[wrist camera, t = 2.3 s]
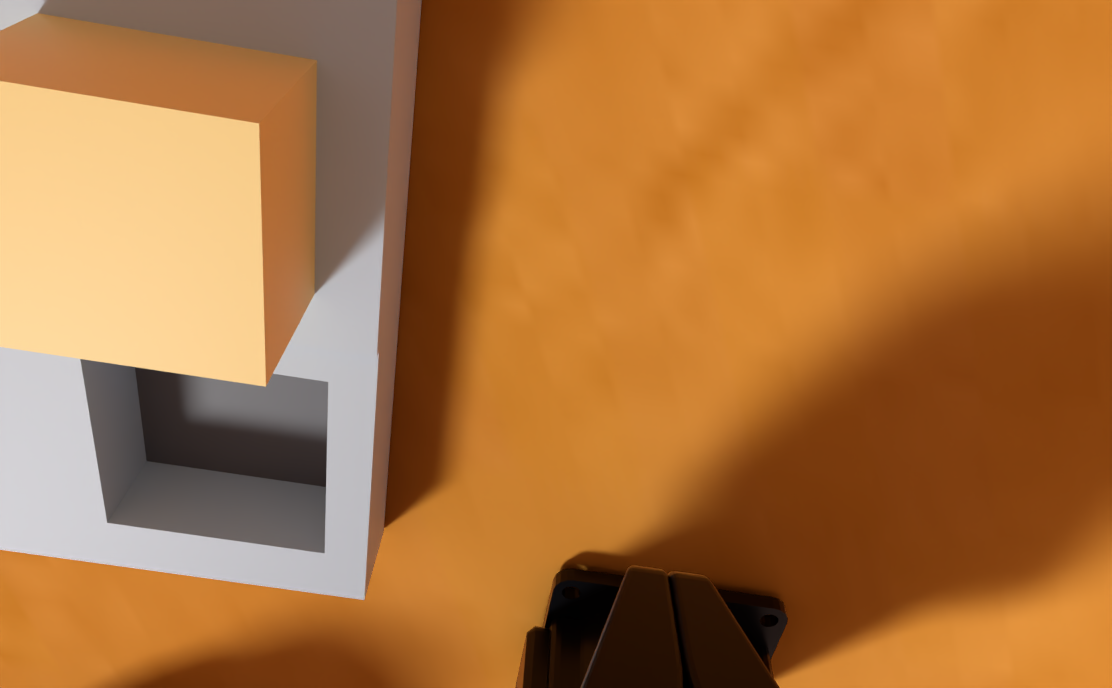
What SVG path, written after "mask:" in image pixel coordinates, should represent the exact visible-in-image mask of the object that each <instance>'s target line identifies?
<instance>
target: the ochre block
mask: <svg viewBox="0 0 1112 688" xmlns="http://www.w3.org/2000/svg"><path fill="white" fill-rule="evenodd" d="M316 105H317V60H313V59H307V58H301V57H295V56H289V55H283V54H277V53H272V52H266V51H260V50H254V49H248V48H242V47H236V46H230V45H224V44H218V43H212V42H206V41H200V40H194V39H188V38H183V37H177V36H171V35H165V34H159V33H153V32H147V31H141V30H135V29H129V28H123V27H117V26H111V25H105V24H99V23H93V22H88V21H82V20H76V19H70V18H64V17H58V16H52V15H46V14H40V13H37V14H35V15H33V16H30V17H28V18H26V19H24V20H22V21H20V22H18V23H16V24H13V25H11V26H9V27H7V28H5V29H3V30H1V31H0V347H4V348H11V349H18V350H24V351H31V352H38V353H44V354H51V355H58V356H64V357H71V358H78V359H85V360H91V361H98V362H105V363H111V364H118V365H125V366H131V367H138V368H145V369H151V370H158V371H165V372H171V373H178V374H185V375H191V376H198V377H205V378H211V379H218V380H225V381H232V382H238V383H245V384H252V385H258V386H265V387H266V386H267V384H268V382H269V380H270V378H271V376H272V374H273V372H274V370H275V369H276V367H277V365H278V363H279V361H280V359H281V357H282V355H283V353H284V351H285V349H286V348H287V346H288V344H289V342H290V340H291V338H292V336H293V334H294V332H295V330H296V329H297V327H298V325H299V323H300V321H301V319H302V317H303V315H304V313H305V311H306V310H307V308H308V306H309V304H310V302H311V300H312V298H313V296H314V294H315V203H316Z"/></svg>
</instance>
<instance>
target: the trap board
mask: <svg viewBox="0 0 1112 688" xmlns="http://www.w3.org/2000/svg"><path fill="white" fill-rule="evenodd" d="M421 4H422V0H0V31H1V30H3V29H5V28H7V27H9V26H11V25H13V24H16V23H18V22H20V21H22V20H24V19H26V18H28V17H30V16H33V15H35V14H37V13H40V14H46V15H52V16H58V17H64V18H70V19H76V20H82V21H88V22H93V23H99V24H105V25H111V26H117V27H123V28H129V29H135V30H141V31H147V32H153V33H159V34H165V35H171V36H177V37H183V38H188V39H194V40H200V41H206V42H212V43H218V44H224V45H230V46H236V47H242V48H248V49H254V50H260V51H266V52H272V53H277V54H283V55H289V56H295V57H301V58H307V59H313V60H317V105H316V203H315V294H314V296H313V298H312V300H311V302H310V304H309V306H308V308H307V310H306V311H305V313H304V315H303V317H302V319H301V321H300V323H299V325H298V327H297V329H296V330H295V332H294V334H293V336H292V338H291V340H290V342H289V344H288V346H287V348H286V349H285V351H284V353H283V355H282V357H281V359H280V361H279V363H278V365H277V367H276V369H275V370H274V372H273V374H272V376H271V378H270V380H269V382H268V384H267V386H266V387H265V386H258V385H252V384H245V383H238V382H232V381H225V380H218V379H211V378H205V377H198V376H191V375H185V374H178V373H171V372H165V371H158V370H151V369H145V368H138V367H131V366H125V365H118V364H111V363H105V362H98V361H91V360H85V359H78V358H71V357H64V356H58V355H51V354H44V353H38V352H31V351H24V350H18V349H11V348H4V347H0V550H7V551H14V552H21V553H29V554H36V555H43V556H50V557H58V558H65V559H72V560H79V561H86V562H94V563H101V564H108V565H115V566H123V567H130V568H137V569H144V570H152V571H159V572H166V573H173V574H180V575H188V576H195V577H202V578H209V579H217V580H224V581H231V582H238V583H245V584H253V585H260V586H267V587H274V588H282V589H289V590H296V591H303V592H310V593H318V594H325V595H332V596H339V597H347V598H354V599H361V600H364V599H365V596H366V592H367V589H368V585H369V581H370V578H371V574H372V571H373V567H374V563H375V560H376V556H377V553H378V549H379V545H380V542H381V538H382V535H383V531H384V521H385V507H386V493H387V479H388V465H389V451H390V437H391V423H392V409H393V395H394V381H395V367H396V353H397V339H398V325H399V311H400V298H401V284H402V270H403V256H404V242H405V228H406V214H407V200H408V186H409V172H410V158H411V144H412V130H413V116H414V102H415V88H416V74H417V60H418V46H419V32H420V18H421Z"/></svg>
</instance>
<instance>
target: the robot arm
mask: <svg viewBox="0 0 1112 688" xmlns="http://www.w3.org/2000/svg"><path fill="white" fill-rule="evenodd" d="M572 586H573V587H575V588H569V587H572ZM787 619H788V618H787V613H786V609H785V606H784V603H783V602H782V601H780V600H779V599H777V598H773V597H768V596H761V595H753V594H746V593H739V592H732V591H725V590H718V589H716V588H715V586H714V585H713V583H712V582H711V580H710V579H709V578H707V577H706V576H704V575H700V574H693V573H686V572H679V571H672V572H670V573H668V575H667V573H666V572H665V571H664V570H663V569H658V568H651V567H644V566H637V565H632V566H630V567H629V568H628V569H627V571H626V573H625V576H620V575H612V574H605V573H598V572H591V571H584V570H577V569H566V570H563V571H560V572H559V573H557V574H556V576H555V577H554V580H553V584H552V588H551V593H550V597H549V602H548V606H547V610H546V615H545V619H544V624H543V627H537V626H535V627H533V628H532V629H531V630H530V631H528V632H527V635H526V640H525V644H524V649H523V654H522V658H521V663H520V668H519V672H518V677H517V682H516V688H779V686H778V685H777V683H776V681H775V680H774V677H773V672H772V667H771V661H770V659H771V657H772V655H773V653H774V651H775V648H776V646H777V644H778V642H779V640H780V637H781V635H782V633H783V631H784V629H785V626H786V624H787Z"/></svg>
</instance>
